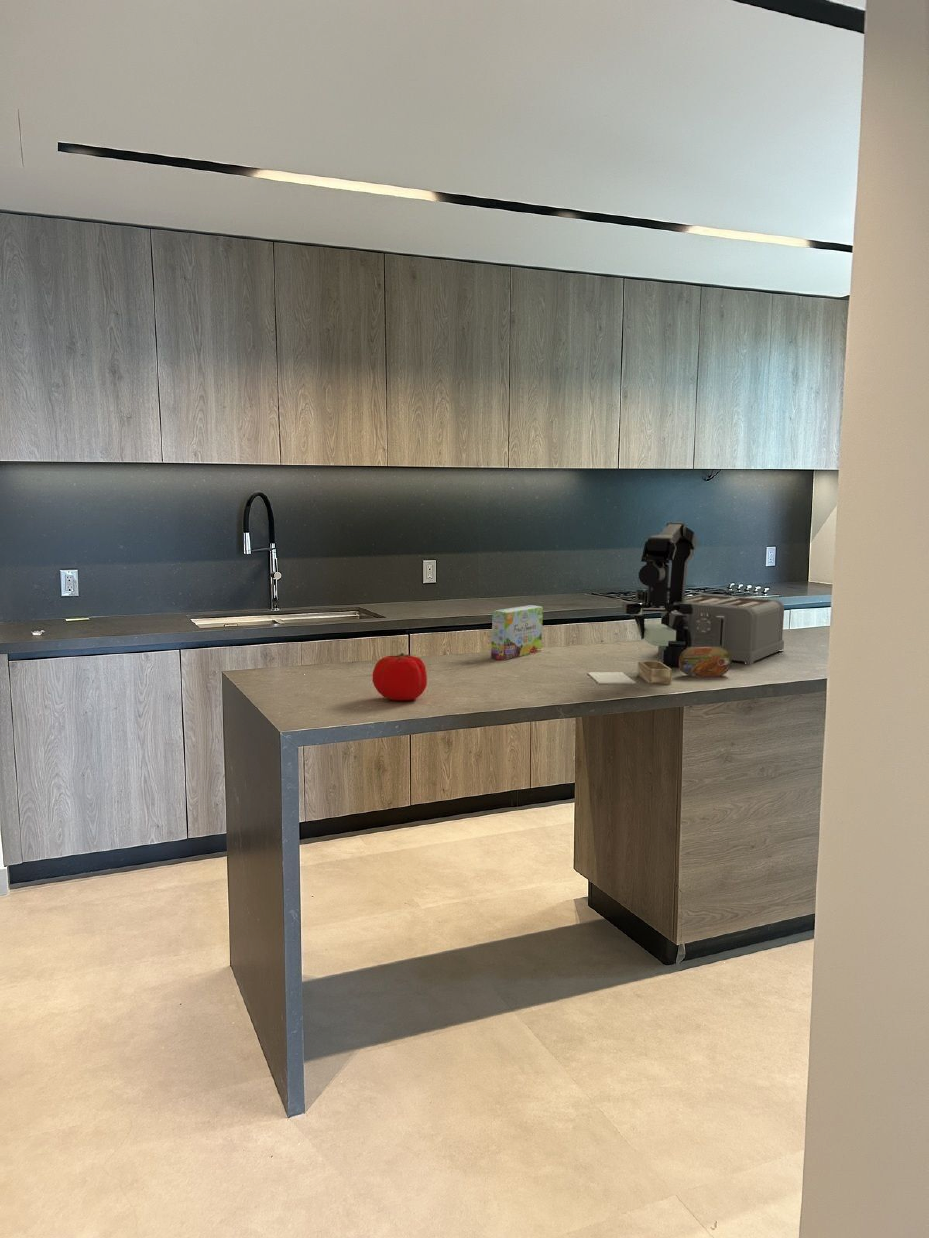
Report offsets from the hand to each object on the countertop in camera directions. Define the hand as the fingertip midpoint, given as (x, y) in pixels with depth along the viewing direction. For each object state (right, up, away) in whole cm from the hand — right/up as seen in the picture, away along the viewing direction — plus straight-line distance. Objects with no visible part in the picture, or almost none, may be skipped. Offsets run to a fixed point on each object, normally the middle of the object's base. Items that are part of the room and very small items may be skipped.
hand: (655, 639), depth 256 cm
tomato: (-69, -15, -27) cm, 75 cm away
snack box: (-36, -6, +36) cm, 52 cm away
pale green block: (0, -1, 0) cm, 1 cm away
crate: (0, -11, +2) cm, 11 cm away
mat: (-12, -11, +2) cm, 17 cm away
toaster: (+30, -6, +46) cm, 55 cm away
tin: (+15, -11, +8) cm, 20 cm away
